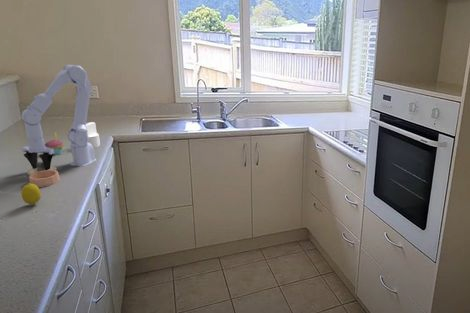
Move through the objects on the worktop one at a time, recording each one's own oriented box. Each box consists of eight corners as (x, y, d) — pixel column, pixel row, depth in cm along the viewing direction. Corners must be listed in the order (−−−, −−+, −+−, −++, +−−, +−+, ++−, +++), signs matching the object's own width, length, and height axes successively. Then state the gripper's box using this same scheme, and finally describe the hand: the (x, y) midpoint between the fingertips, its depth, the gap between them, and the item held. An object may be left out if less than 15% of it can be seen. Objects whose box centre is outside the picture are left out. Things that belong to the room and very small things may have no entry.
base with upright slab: (93, 148, 177) (90, 126, 173) (78, 147, 179) (75, 125, 175) (103, 143, 186) (100, 122, 182) (88, 143, 187) (85, 122, 183)
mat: (42, 166, 151) (41, 165, 151) (63, 169, 148) (63, 168, 148) (20, 176, 140) (20, 175, 140) (43, 178, 137) (42, 177, 137)
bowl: (44, 177, 139) (43, 169, 138) (65, 179, 137) (63, 171, 136) (24, 186, 130) (22, 178, 129) (46, 189, 128) (44, 180, 126)
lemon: (45, 201, 118) (41, 180, 115) (37, 208, 113) (32, 186, 110) (29, 201, 118) (24, 180, 115) (20, 208, 112) (15, 186, 110)
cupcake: (61, 150, 174) (57, 128, 171) (67, 154, 169) (63, 130, 165) (43, 154, 169) (39, 131, 165) (49, 157, 163) (44, 134, 159)
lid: (41, 166, 150) (40, 157, 149) (62, 168, 148) (60, 159, 146) (21, 174, 140) (19, 166, 139) (42, 177, 138) (41, 168, 136)
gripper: (13, 139, 137) (20, 170, 142) (42, 141, 134) (48, 173, 138) (27, 135, 144) (33, 164, 148) (55, 137, 140) (61, 167, 145)
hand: (41, 168), depth 144 cm, fingers open, 6 cm apart
